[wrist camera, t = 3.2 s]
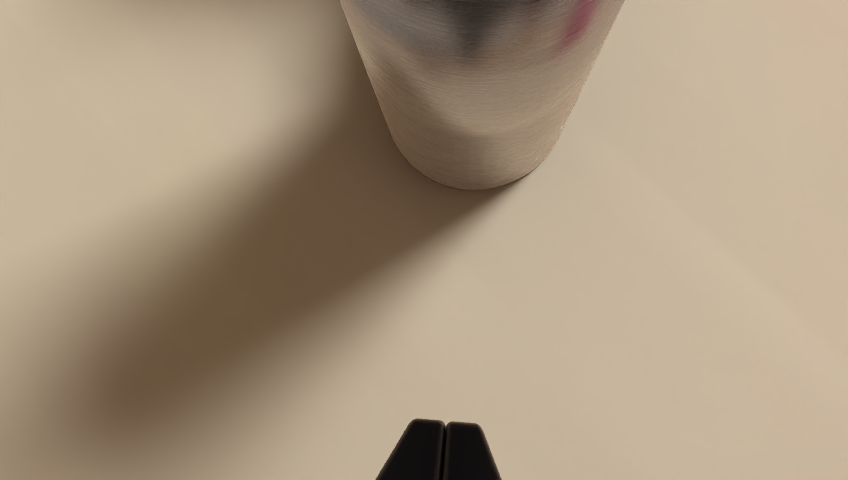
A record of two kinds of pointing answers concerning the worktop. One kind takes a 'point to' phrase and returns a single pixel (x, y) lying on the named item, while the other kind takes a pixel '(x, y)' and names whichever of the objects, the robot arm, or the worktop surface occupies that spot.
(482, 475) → the robot arm
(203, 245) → the worktop surface
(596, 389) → the worktop surface
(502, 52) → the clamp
